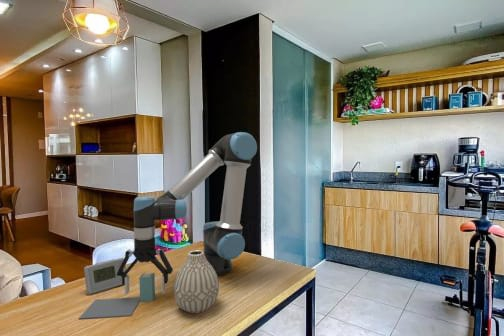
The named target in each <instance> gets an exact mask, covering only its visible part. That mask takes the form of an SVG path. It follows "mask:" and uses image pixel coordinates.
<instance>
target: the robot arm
mask: <svg viewBox="0 0 504 336" xmlns="http://www.w3.org/2000/svg"><path fill="white" fill-rule="evenodd" d="M257 144H258V143H257V141H256V139H255V138H254V136H253V135H252V134H250V133H248V132H244V131H243V132H242V131H240V132H239V131H238V132H235V133H229V134H226V135H224V136H223V137H222V138H220V139H219V140H218V141H217V142H216V143H215V144H214V145H213V146H212V147H211V148H210V149H209V150H208V154H207V155H205V156H204V157H203V158H202V159H201V160H200V161H199V162H198V163H197V164H195V165H194V166H193V167H192V168H191V169H190V170H189V171H188V172H187V173H186V174H184V175H183V176H182V177H181V178H180V179H179V180H178V181H176V182H175V184H173V186H171V187H170V188H169V189H167V191H166V192H165V193H163V194H162V195H159V196H158V197H157V198H155V196H153V195H152V196H150V195H145V196H144V195H143V196H136V197H135V198H134V200H133V209H132V210H133V237H134V240H133V244H134V245H133V247H134V248H133V250H131V249H129V248H128V249H127V250H126V251H125V254H124V257H123V258H124V260H123V262H122V264H121V266H120V268H119V270H118V272H117V276H121V277H122V285H121V286H124V295H125V296H127V295H128V294H129V292H130V274H129V272H130V271H131V269H133V267H135V265H136V264H137V262H139V263H150V262H151V264H153V265H154V266H155V267H156V269H158V270H159V271H160V273H161V293H162V294H164V293H165V291H166V284H168V282H169V275H171V274H172V273H173V271H174V269H173V267H172V265H171V264H170V261H169V260H168V258H167V256H166V254H165V248H161V249H156V237H155V236H156V225H155V224H156V221H157V222H158V221H169V220H171V221H172V220H180V219H184V218H185V217H186V216H187V211H188V208H187V207H188V206H187V203H186V201H185V198H187V197H188V196H189V195H190V194H191V193H192V192H193V191H194V190H195V189H196V188H198V187H199V186H200V185H201V184H202V183H203V182H204V181H206V179H207V178H208V177H209V176H210V175H211V174H212V173H214V172H215V171H216V170H217V169H218V168H219V167H221V166H224V165H226V172H225V179H224V189H223V196H222V203H221V209H220V211H221V212H220V219H219V221H210V222H205V223H204V224H203V226H202V227H203V229H202V232H203V233H202V235H203V238H202V239H203V240H202V241H203V252H204V254H205V257H206V259H207V261H208V262H209V263H210V264H211V265H212V267H213V268H214V270H215V272H216V274H217V277H221V276H225V275H228V274H230V273H231V272H232V271H233V262H232V260H235V259H238V257H239V256H241V255H242V254H243V252H244V250H245V247H246V241H245V238H244V236H243V228H244V227H243V226H242V224H241V223H240V222H241V215H242V208H243V199H244V192H245V191H244V190H245V186H246V185H245V184H246V176H247V169H248V168H249V167H250V166H251V165H252V158H254V156H256V154H257V151H258V145H257ZM132 255H133V256H134V257H135V259H134V260H133V261H132V262H131V264H130V265H129V266H128V267H126V271H125V272H123V269H124V267H125V265H127V263H128V261H129V259H130V257H131V256H132ZM156 255H158V256H159V257H160V260H161V262H162V263H163V264H162V263H161V262H160V261H159V259H158V258H157V256H156Z"/></svg>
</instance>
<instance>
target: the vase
mask: <svg viewBox="0 0 504 336" xmlns="http://www.w3.org/2000/svg"><path fill="white" fill-rule="evenodd" d="M218 277H219V276H217V274H216V272H215V270H214V268H213V267H212V265H211V264H210V263H209V262H208V261H207V259H206V257H205V254H204V250H201V249H196V250H190V251H189V252H188V253H187V257H186V260H185V261H184V263H183V264H182V265H181V267H180V269H179V271H178V272H177V274H176V277H175V280H174V283H173V284H174V285H173V294H174V299H175V301H176V303H177V304H178V306H179V307H180V309H182V310H184V311H185V312H187V313H190V314H200V313H204V312H205V311H208V310H209V309H210V308H211V307H212V306H213V305H214V304H215V302H216V300H217V298H218V296H219V291H220V282H219V278H218Z"/></svg>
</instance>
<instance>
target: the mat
mask: <svg viewBox="0 0 504 336" xmlns="http://www.w3.org/2000/svg"><path fill="white" fill-rule="evenodd" d="M139 303H141V302H140V296H138V297H137V296H136V297H119V298H118V297H117V298H102V299H100V298H99V299H97V298H96V299H94V300H93V302H92V303H91V304H90V305H89V306H88V307H87V308H86V309H85V311H84V312H83V313H82V314H81V315H80V316H79V317H78V320H91V319H106V318H107V319H108V318H110V319H111V318H120V317H121V318H123V317H124V318H125V317H132V315H133V314H134V312H135V310H136V308H137V307H138V305H139Z"/></svg>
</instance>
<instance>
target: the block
mask: <svg viewBox="0 0 504 336" xmlns="http://www.w3.org/2000/svg"><path fill="white" fill-rule="evenodd" d="M155 273H156V272H144V273H142V274H141V275H140V277H139V279H138V281H139V297H140V302H139V303H141V302H152V301H154V299H155V296H156V285H155V284H156V277H155Z"/></svg>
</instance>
